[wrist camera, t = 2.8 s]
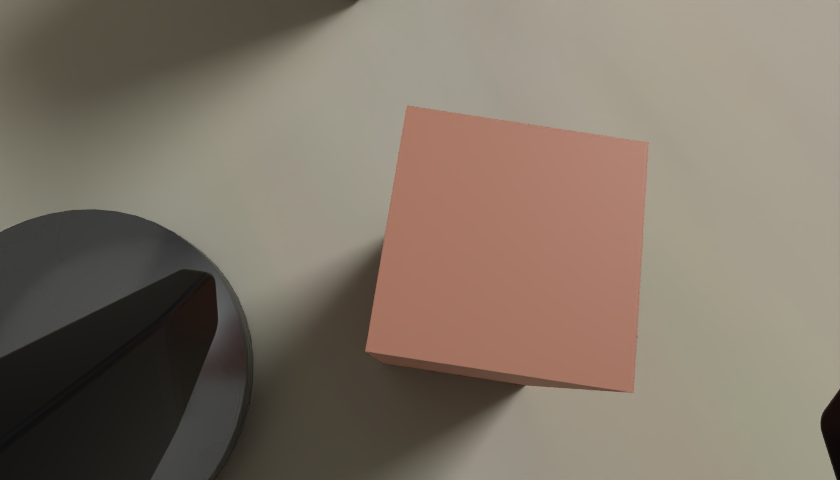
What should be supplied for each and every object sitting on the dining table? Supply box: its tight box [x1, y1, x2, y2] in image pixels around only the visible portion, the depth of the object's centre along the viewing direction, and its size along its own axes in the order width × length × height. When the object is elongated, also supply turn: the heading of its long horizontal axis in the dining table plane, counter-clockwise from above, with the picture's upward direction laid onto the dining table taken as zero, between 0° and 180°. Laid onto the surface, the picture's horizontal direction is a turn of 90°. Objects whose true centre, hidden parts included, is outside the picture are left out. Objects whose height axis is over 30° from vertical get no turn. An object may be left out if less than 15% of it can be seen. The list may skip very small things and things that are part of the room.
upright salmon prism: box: [365, 106, 649, 393], centre depth 14 cm, size 4×4×8 cm
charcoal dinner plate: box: [0, 209, 253, 480], centre depth 17 cm, size 10×10×1 cm
